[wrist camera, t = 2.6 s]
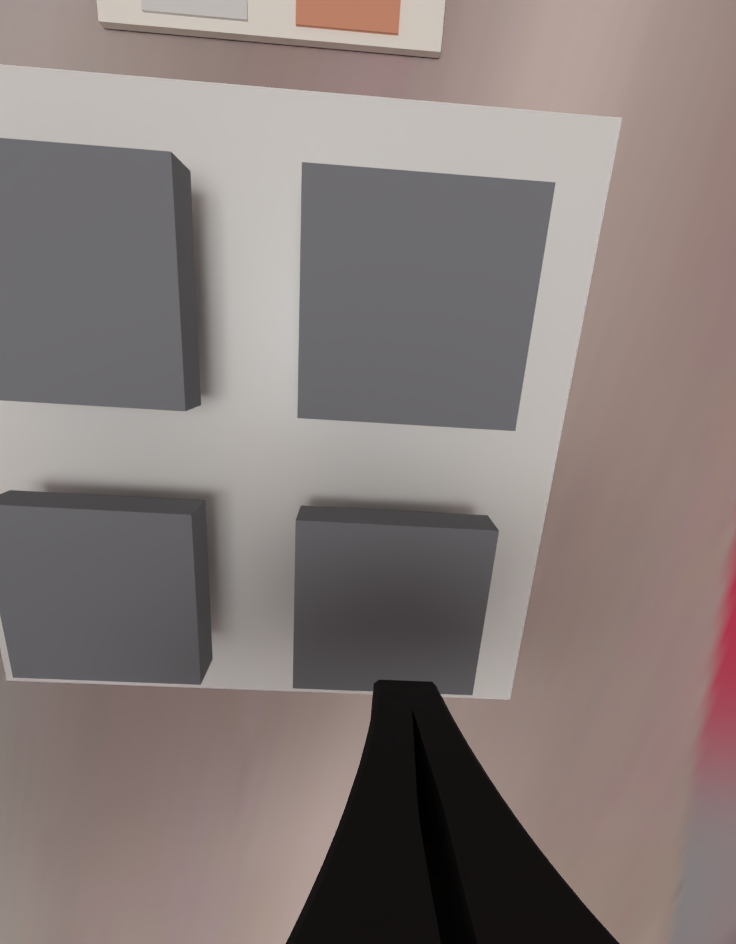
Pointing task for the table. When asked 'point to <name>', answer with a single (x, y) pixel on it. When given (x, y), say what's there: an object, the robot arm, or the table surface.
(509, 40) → the table surface
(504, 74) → the table surface
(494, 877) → the robot arm
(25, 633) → the button
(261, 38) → the pattern card
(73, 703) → the table surface
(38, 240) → the button
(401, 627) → the button
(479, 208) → the button
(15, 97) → the button board
